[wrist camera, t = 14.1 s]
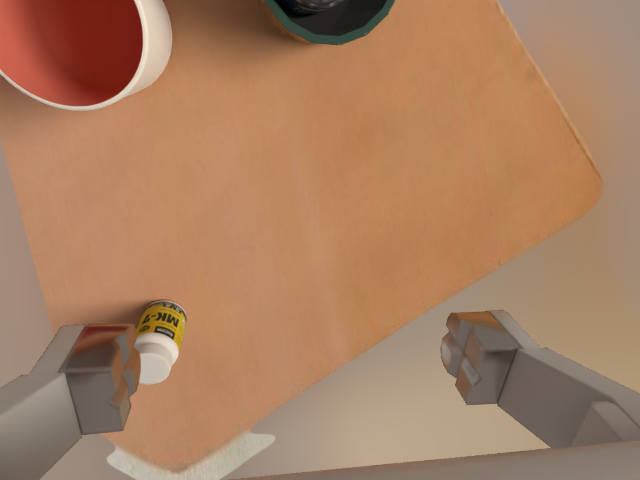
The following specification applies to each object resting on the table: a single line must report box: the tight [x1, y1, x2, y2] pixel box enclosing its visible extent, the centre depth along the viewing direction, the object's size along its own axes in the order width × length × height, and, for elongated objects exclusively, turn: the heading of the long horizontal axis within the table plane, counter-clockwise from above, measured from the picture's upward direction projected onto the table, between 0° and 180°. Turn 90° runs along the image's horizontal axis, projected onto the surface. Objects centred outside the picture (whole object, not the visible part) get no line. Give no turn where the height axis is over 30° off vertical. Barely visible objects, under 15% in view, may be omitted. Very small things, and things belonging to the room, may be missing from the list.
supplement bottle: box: [134, 300, 187, 384], centre depth 42 cm, size 5×5×8 cm
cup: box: [0, 0, 172, 111], centre depth 29 cm, size 10×10×10 cm
